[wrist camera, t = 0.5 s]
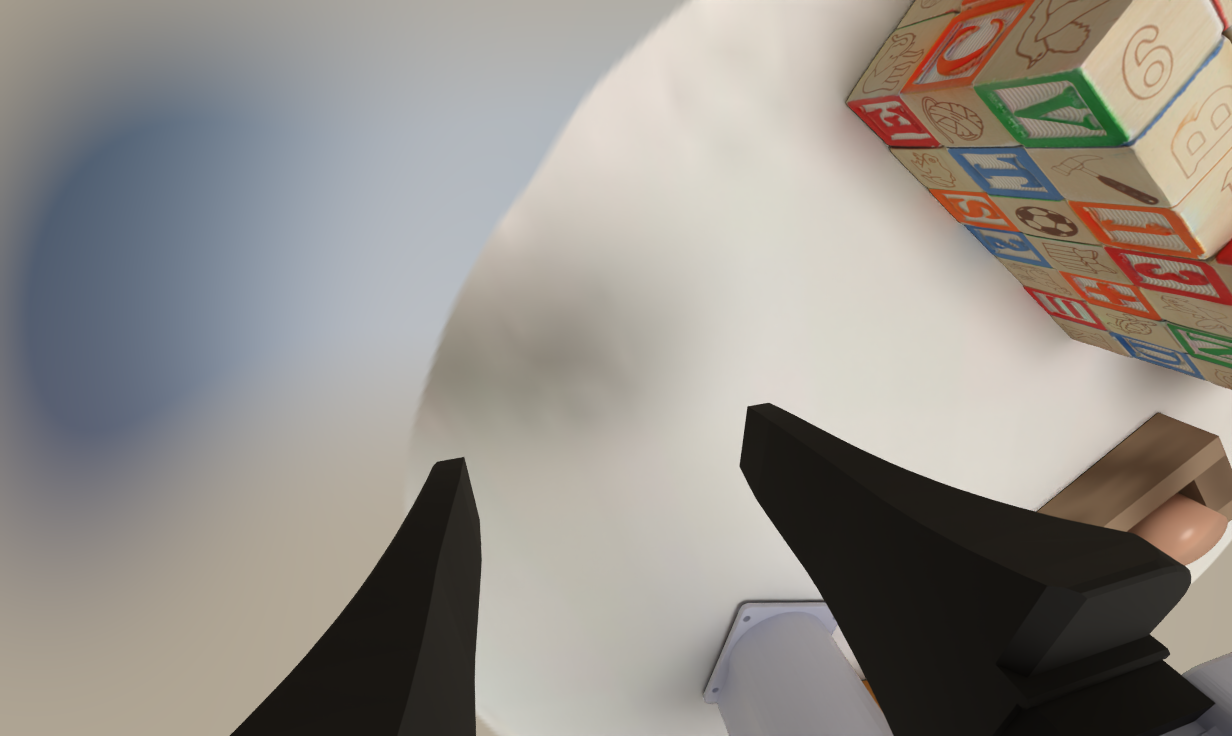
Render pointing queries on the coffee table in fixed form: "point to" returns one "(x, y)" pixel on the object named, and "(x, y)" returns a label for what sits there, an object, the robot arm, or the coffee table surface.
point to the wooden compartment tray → (1149, 477)
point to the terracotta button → (1182, 528)
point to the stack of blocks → (1080, 157)
